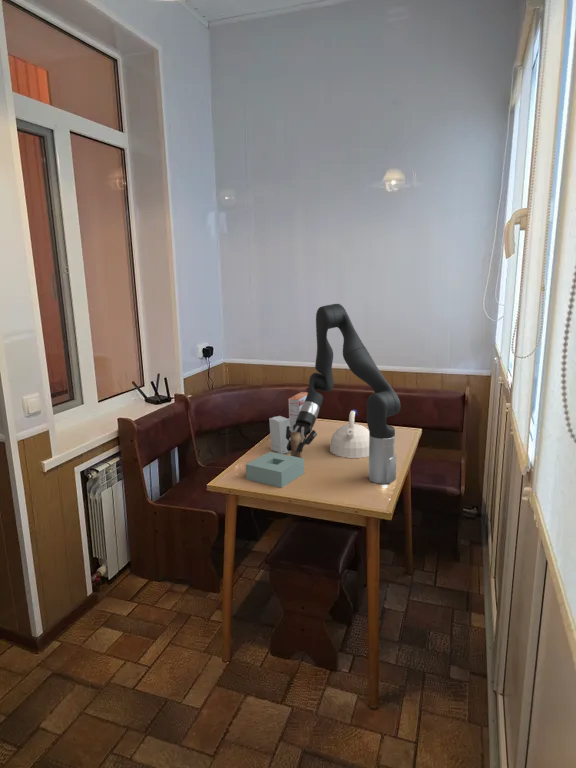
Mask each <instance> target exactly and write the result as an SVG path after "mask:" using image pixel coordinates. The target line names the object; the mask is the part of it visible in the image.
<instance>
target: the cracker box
mask: <svg viewBox="0 0 576 768" xmlns="http://www.w3.org/2000/svg"><path fill="white" fill-rule="evenodd" d="M307 394H308V391H307V392H305V391H300V392H299V393H296V394H295V395H293V396H291V397H289V398H288V419H289V421H290V427H293V426H294V425H295V423H296V419H297V417H298V414H299V412H300V410H301V407H302V405H303V404H304V401H305V399H306V397H307ZM293 431H294V430H293ZM293 431H292V432H293ZM309 435H310V433H309V434H308V435H307V437H308V436H309Z"/></svg>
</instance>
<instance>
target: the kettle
mask: <svg viewBox="0 0 576 768" xmlns="http://www.w3.org/2000/svg"><path fill="white" fill-rule="evenodd" d="M358 415H359V414H358V411H357V410H356V409H351V410H350V412H349V417H348V423H347V424H343V425H342V426H340V427H339V428H337V429H336V430H335V431H334V433H332V436H331V438H330V441H329V442H330V445H329V452H330V453H331V454H333V455H334V454H335V455H334V456H337V457H340V456H341V457H340V458H345V457H347V458H346V459H363V458H366V457H367V458H369V429H368V427H365V426H363V425H361V424H358V423H356V422H355V417H356V416H358ZM362 457H363V458H362Z"/></svg>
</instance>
